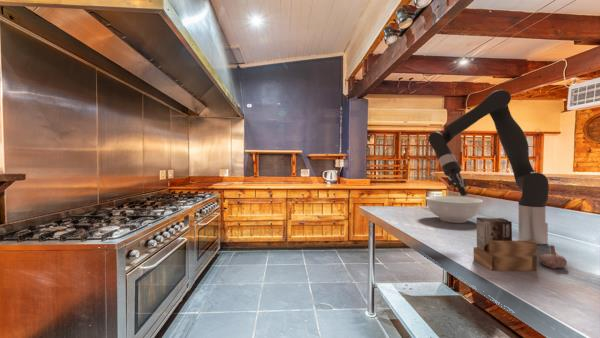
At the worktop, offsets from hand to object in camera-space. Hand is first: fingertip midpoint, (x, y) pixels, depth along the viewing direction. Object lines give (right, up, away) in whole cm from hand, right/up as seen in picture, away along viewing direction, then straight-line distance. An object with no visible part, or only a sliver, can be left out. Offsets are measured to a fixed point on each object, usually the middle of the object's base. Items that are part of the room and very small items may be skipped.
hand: (464, 195), depth 113 cm
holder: (-4, -23, -25) cm, 34 cm away
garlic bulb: (+13, -23, -27) cm, 38 cm away
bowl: (+24, -22, +46) cm, 56 cm away
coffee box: (-4, -23, -22) cm, 32 cm away
